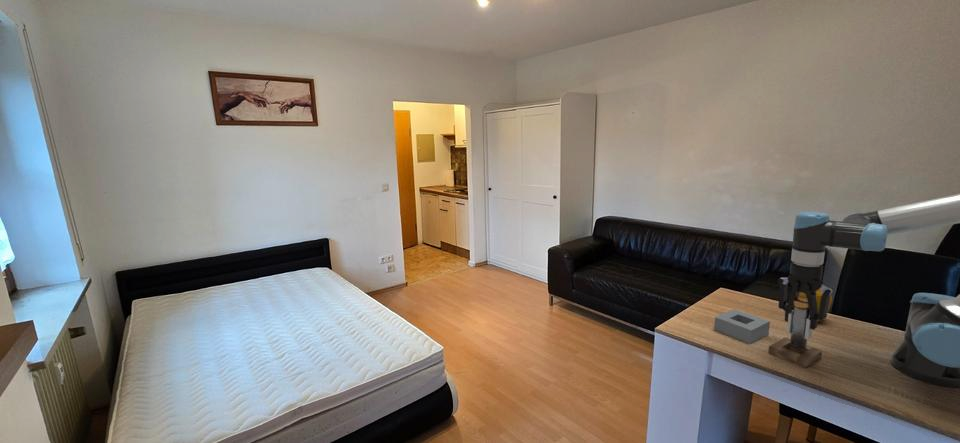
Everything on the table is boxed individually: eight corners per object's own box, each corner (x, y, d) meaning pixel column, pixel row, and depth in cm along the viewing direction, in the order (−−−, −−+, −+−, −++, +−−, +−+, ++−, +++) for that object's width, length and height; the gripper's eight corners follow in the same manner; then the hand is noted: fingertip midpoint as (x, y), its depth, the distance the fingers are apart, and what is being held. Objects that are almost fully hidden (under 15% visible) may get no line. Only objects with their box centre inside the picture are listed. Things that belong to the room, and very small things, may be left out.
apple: (783, 314, 149) (787, 283, 147) (804, 310, 152) (808, 279, 149) (814, 327, 139) (819, 293, 136) (836, 322, 142) (841, 289, 139)
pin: (810, 346, 120) (815, 301, 117) (803, 350, 118) (808, 304, 115) (792, 340, 124) (797, 296, 121) (785, 344, 122) (790, 300, 119)
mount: (821, 357, 120) (822, 350, 120) (805, 367, 116) (806, 360, 115) (783, 344, 129) (784, 337, 128) (768, 352, 124) (769, 345, 124)
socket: (768, 334, 135) (770, 321, 134) (749, 344, 130) (751, 330, 129) (732, 321, 146) (734, 309, 145) (714, 329, 140) (715, 317, 139)
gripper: (849, 267, 110) (839, 342, 115) (780, 254, 125) (774, 321, 130) (837, 272, 107) (828, 349, 111) (768, 259, 122) (762, 327, 126)
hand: (799, 334), depth 120 cm, fingers closed on pin, 4 cm apart
